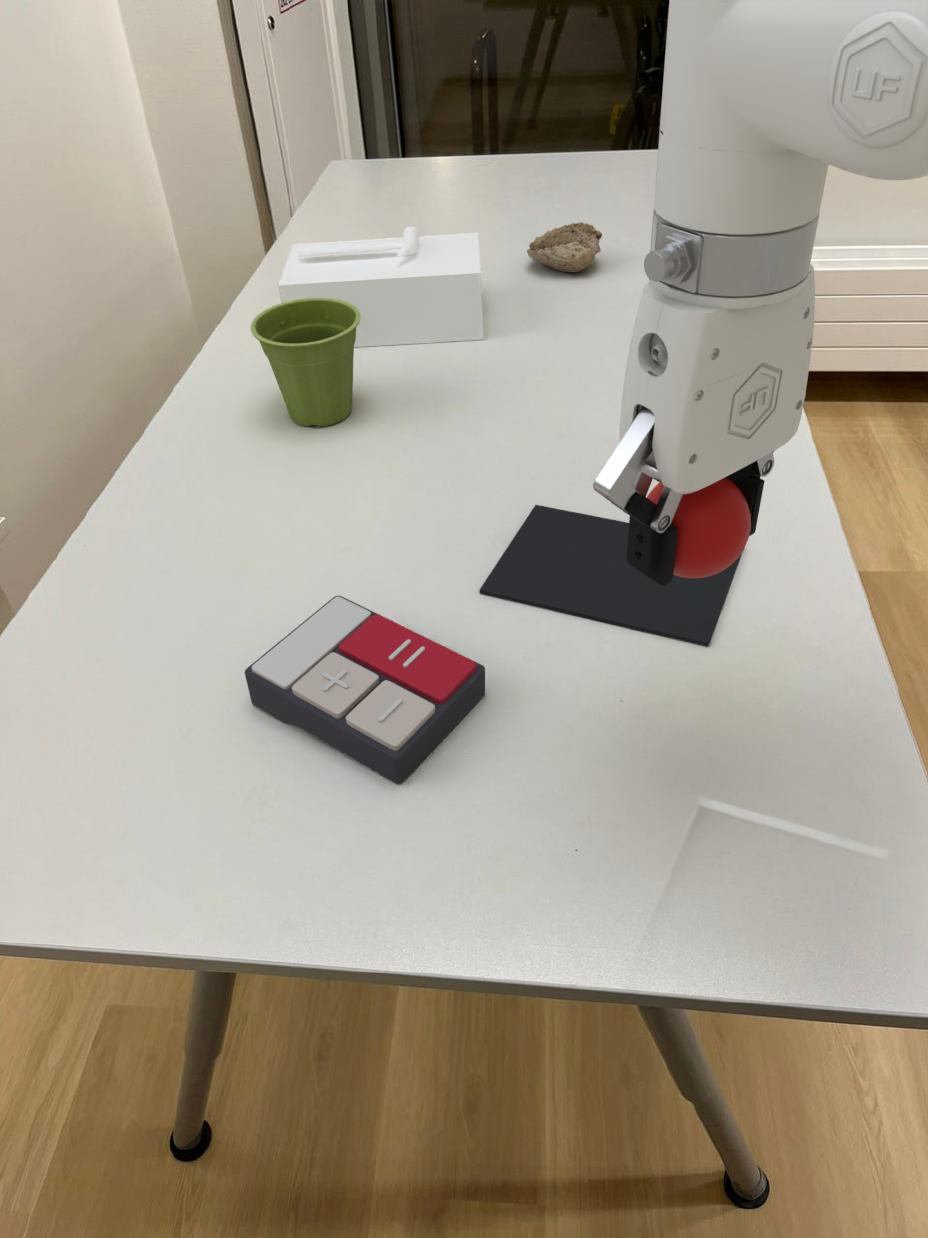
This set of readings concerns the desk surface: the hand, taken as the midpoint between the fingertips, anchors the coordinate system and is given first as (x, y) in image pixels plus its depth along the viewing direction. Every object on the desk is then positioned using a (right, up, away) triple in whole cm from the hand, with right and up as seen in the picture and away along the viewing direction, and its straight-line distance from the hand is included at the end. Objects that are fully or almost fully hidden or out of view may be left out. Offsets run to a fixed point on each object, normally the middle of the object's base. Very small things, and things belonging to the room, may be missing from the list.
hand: (691, 547), depth 57 cm
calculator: (-21, -11, +17) cm, 29 cm away
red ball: (0, +1, -1) cm, 2 cm away
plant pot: (-30, +19, +53) cm, 64 cm away
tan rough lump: (+1, +47, +82) cm, 95 cm away
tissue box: (-24, +35, +71) cm, 83 cm away
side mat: (0, 0, +27) cm, 27 cm away
